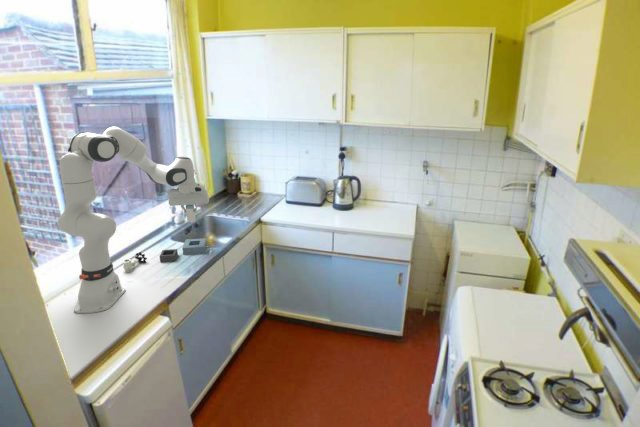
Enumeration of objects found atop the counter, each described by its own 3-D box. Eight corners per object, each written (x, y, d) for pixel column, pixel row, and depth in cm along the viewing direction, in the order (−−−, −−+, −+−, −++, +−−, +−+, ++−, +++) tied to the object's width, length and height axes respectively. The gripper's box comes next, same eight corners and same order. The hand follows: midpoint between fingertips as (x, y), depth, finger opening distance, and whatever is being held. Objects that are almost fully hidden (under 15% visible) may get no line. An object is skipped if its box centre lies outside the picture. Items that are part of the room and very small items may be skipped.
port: (204, 254, 211) (203, 246, 209) (183, 256, 209) (182, 247, 208) (206, 246, 221) (205, 237, 219) (186, 247, 220) (185, 239, 218)
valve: (132, 275, 191) (148, 264, 201) (129, 263, 188) (146, 252, 199) (120, 273, 192) (137, 262, 203) (118, 261, 190) (135, 251, 201)
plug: (194, 221, 208) (192, 206, 204) (187, 222, 207) (185, 206, 204) (195, 219, 211) (193, 203, 208) (188, 219, 210) (186, 204, 207)
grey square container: (175, 262, 202) (174, 255, 201) (160, 264, 201) (159, 256, 200) (178, 256, 209) (177, 249, 208) (163, 257, 208) (162, 249, 207)
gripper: (165, 190, 198) (169, 215, 203) (206, 188, 201) (209, 213, 206) (167, 186, 204) (171, 211, 209) (207, 184, 206) (210, 209, 211)
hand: (190, 212), depth 207 cm, fingers closed on plug, 4 cm apart
